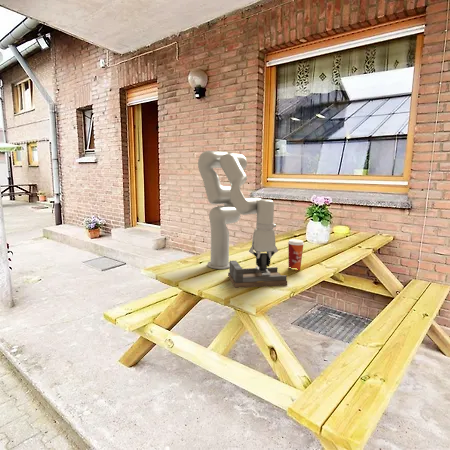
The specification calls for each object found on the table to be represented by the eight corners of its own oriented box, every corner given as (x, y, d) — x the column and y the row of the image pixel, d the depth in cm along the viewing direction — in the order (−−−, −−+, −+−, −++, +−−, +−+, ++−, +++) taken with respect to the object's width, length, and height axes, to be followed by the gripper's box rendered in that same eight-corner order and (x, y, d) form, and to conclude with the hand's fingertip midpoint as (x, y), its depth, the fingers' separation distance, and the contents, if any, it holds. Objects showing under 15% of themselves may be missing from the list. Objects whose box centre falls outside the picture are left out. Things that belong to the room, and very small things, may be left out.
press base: (228, 276, 160) (228, 260, 158) (275, 274, 165) (276, 258, 163) (235, 287, 145) (235, 270, 144) (287, 285, 150) (288, 268, 149)
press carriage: (255, 272, 160) (256, 251, 158) (263, 272, 160) (264, 250, 158) (261, 279, 150) (262, 256, 148) (270, 279, 151) (271, 256, 149)
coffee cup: (294, 272, 169) (296, 243, 166) (283, 267, 175) (284, 240, 172) (306, 269, 173) (307, 241, 171) (294, 265, 180) (295, 238, 177)
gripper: (279, 225, 156) (277, 262, 160) (244, 225, 153) (243, 264, 156) (285, 228, 149) (282, 267, 152) (249, 228, 146) (247, 269, 149)
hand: (263, 265), depth 154 cm, fingers closed on press carriage, 3 cm apart
